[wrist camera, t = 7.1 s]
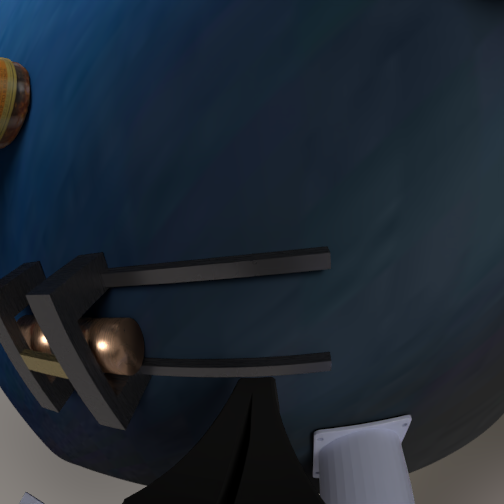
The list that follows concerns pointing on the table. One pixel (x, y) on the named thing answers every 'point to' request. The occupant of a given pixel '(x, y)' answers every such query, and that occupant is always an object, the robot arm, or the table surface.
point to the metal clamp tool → (132, 386)
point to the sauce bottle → (12, 99)
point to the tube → (98, 341)
